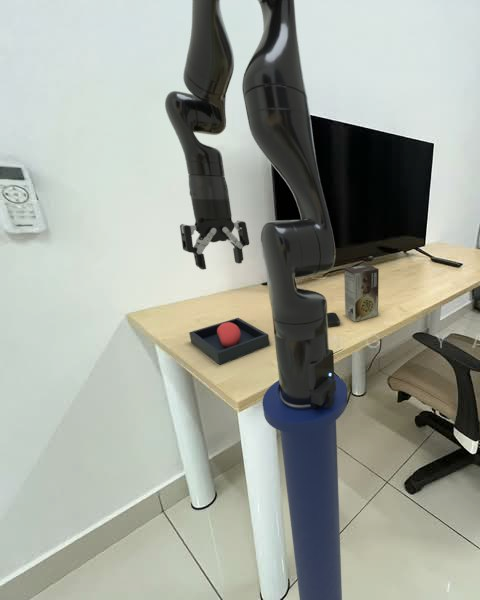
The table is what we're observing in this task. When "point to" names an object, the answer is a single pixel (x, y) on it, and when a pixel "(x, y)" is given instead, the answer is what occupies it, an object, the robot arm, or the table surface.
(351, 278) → the coffee box
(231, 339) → the stress ball
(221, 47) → the robot arm
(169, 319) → the table surface
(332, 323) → the phone
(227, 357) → the tray
